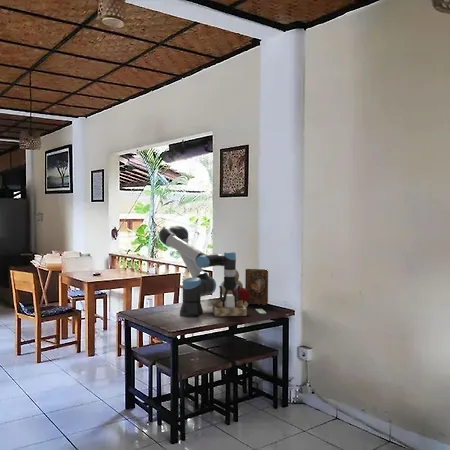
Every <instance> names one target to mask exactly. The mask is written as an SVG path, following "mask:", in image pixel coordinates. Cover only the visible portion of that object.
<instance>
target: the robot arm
mask: <svg viewBox="0 0 450 450" xmlns="http://www.w3.org/2000/svg"><path fill="white" fill-rule="evenodd" d="M158 238H159V240H160V242H161V243H162V244H163V245H165V246H166V247H168V248H172V249H174V250H176V251H177V252H178V253H179V256H180V257H181V259H182V261H183V263H184V265H185V266H186V268H187V270H188V272H189V273H190V275H191V277H187V278H184V279H183V281H182V286H181V287H182V304H181V307H180V309H179V315H180V317H187V318H197V317H200V315H203V314H204V309H203V307H202V302H201V298H202V297H207V296H210V295H212V294H214V292H215V291H216V289H217V282H216V280H215V278H213V277H211V276H209V274H208V272H206V271H204V270H203V269H206V268H209V267H219V266H220V267H223V275H224V276H223V281H224V284H223V285H221V284H220V285H218V286H219V287H218V288H219V301H222V302H223V305H222V306H223V307H224V309H226V302H225V299H226V295H227V292H228V291H229V290H231V291H232V294H233V296H234V308H235V307H236V302H237V301H239V289H240V286H239V285H236V277H235V275H236V270H237V269H236V263H237V262H236V261H237V258H236V257H237V254H236V252H235V251H224V253H223V254H221V253H220V254H219V253H211V254H205V253H204V252H202V251H201V250H199V249H197V248H196V247H194V246H192V245H191V244H189V240H190V239H189V232H188V230H187V228H186V227H185V226H182V225H176V226H175V225H174V226H168V225H167V226H164V227H162V228H161V229H160V231H159V233H158ZM223 287H225V293H224V297H223V295H222V289H223ZM235 287H236V288H237V299H236V296H235V292H234V288H235Z"/></svg>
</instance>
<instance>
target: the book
mask: <svg viewBox="0 0 450 450" xmlns="http://www.w3.org/2000/svg"><path fill="white" fill-rule="evenodd" d="M267 270H268V269H267ZM267 270H265V269H258V268H245V276H244V277H245V279H244V280H245V281H244V283H245V287H244V288H245V289H247V290H248V291H249V293H250V295H249V299H248V302H247V303H248V305H249V304H258V305H259V306H267V305H268V303H269V270H268V271H267ZM260 304H262V305H260ZM258 305H257V306H258Z"/></svg>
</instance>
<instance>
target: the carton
mask: <svg viewBox="0 0 450 450" xmlns="http://www.w3.org/2000/svg"><path fill="white" fill-rule="evenodd" d="M210 303H211V305H212V314H213V316H215V317H234V316H235V317H241V316H243V317H245V316H247V315H248V314H247V311H248V309H247V308H248V305H249V304H248V303H247V302H246V301H245V302H244V305H243V300H239V301H237V302H236V307H235V308H226V309H224V307H223V306H222V305H223V302H222V301H220V300H212V302H211V301H210Z"/></svg>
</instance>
